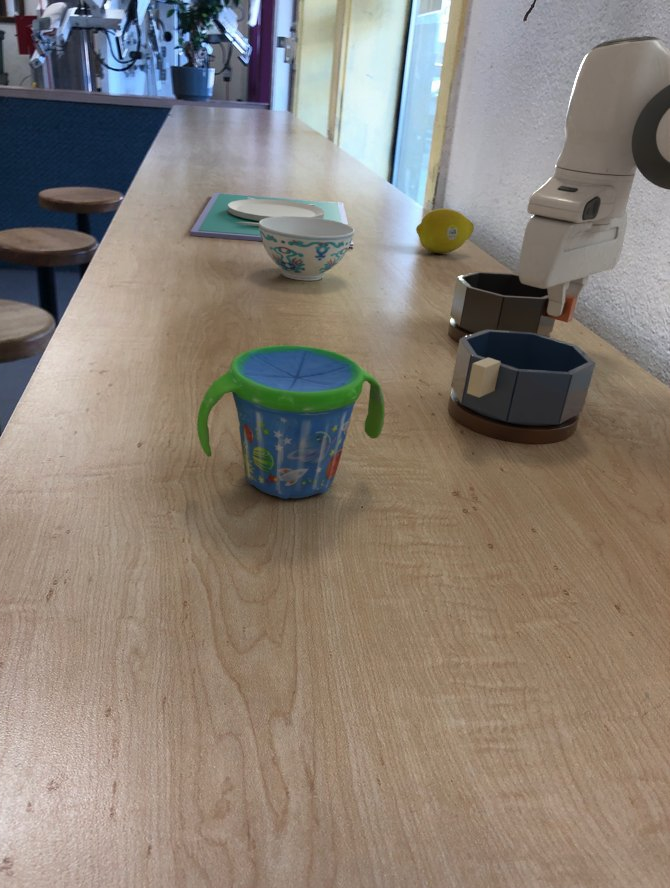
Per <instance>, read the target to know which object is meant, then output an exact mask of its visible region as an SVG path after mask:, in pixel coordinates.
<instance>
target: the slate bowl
mask: <svg viewBox="0 0 670 888" xmlns="http://www.w3.org/2000/svg"><path fill="white" fill-rule="evenodd" d="M595 366H596V362H595V361H594V360H593V359H592V358H591V357H590V356H589V355H588V354H587V353H586V352H585V351H584V350H583V349H582V348H581V347H580V346H579V345H577V344H573V343H570V342H567V341H563V340H560V339H557V338H552V337H551V336H550V337H547V336H543V335H540V334H537V333H532V332H519V331H503V330H483V331H480V332H477V333H474V334H471V335H468V336H465V337H462V338H460V340H459V342H458V347H457V352H456V356H455V363H454V368H453V374H452V377H451V378H452V379H451V384H450V386H451V389H453V390H454V392H455V394H456V396H457V398H458V399H459V401H460V403H461V404H462V405H463V406H466V407H468V408H469V409H471V410H473V411H475V412H477V413H479V414H481V415H483V416H486V417H489V418H492V419H495V420H499V421H503V422H507V423H513V424H519V425H529V426H547V425H558V424H561V423H563V422H565V421H567V420H568V419H570V418H572V417H574V416H575V415H577V414H579V415H580V414H581V413H582V412H583V409H584V407H585V403H586V399H587V395H588V391H589V388H590V385H591V381H592V377H593V374H594V370H595Z"/></svg>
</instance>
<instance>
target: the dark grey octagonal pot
mask: <svg viewBox="0 0 670 888" xmlns="http://www.w3.org/2000/svg"><path fill="white" fill-rule="evenodd" d="M577 299H578V300H579V298H578V297H575V296H571V295H567V294H565V301H568V302H567V307H566V311H565V313H564V314H563V315H560V316H557V317H556V316H552V315H549V314H548V313H547V307H548V303H549V298H548V291H547V288H546V289H541V288H537V287H533V286H529V285H526V284H522V283H521V282H520V279H519V275H518V273H509V272H493V271H473V272H470V273H466V274H461V275H459V276H458V275H457V277H456V280H455V287H454V292H453V298H452V304H451V309H450V315H449V316H450V317H451V318H453V319H454V321H455V322H456V323H457V325H458V326H459V327H461V328H463V329H464V330H466V331H469V332H471V333H477V332H480V331H483V330H503V331H519V332H532V333H537V334H540V335H543V336H544V335H546V334H549V333H550V334H551V333H553V330H554V326H555V322H556V320H557V321H559V322H564V323H571V322H572V321H573V317H574V314H575V310H576V309H575V307H576V308H577V306H576V303H577V304H578V302H577Z"/></svg>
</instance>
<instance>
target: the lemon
mask: <svg viewBox="0 0 670 888" xmlns="http://www.w3.org/2000/svg"><path fill="white" fill-rule="evenodd" d="M474 227H475V225H474V223H473V222H472V221H471V220H470V219H468V218H467V217H466V216H465V215H464V214H463V213H461V212H460V211H458V210H455V209H451V208H443V207H442V208H437V209H433V210H431V211H429V212H427V213H426V214H425V215H424V216H423V218H422V219H421V222H420V223H419V224H418V225H417V226H416V228H415V232H416V233H417V236H418V237H419V242H420V245H421V246H422V247H423V248H424V249H425V250H426V251H429V252H431V253H434V254H438V255H439V254H440V255H441V254H442V255H443V254H447V253H452V252H454V251H456V250H457V249H458V250H459V248H460V247H462V246H463V245H464V244H465V243H466V241H467V240H469V239H470V238H471V237H472V234H473V233H474V230H475V229H474Z"/></svg>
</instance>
